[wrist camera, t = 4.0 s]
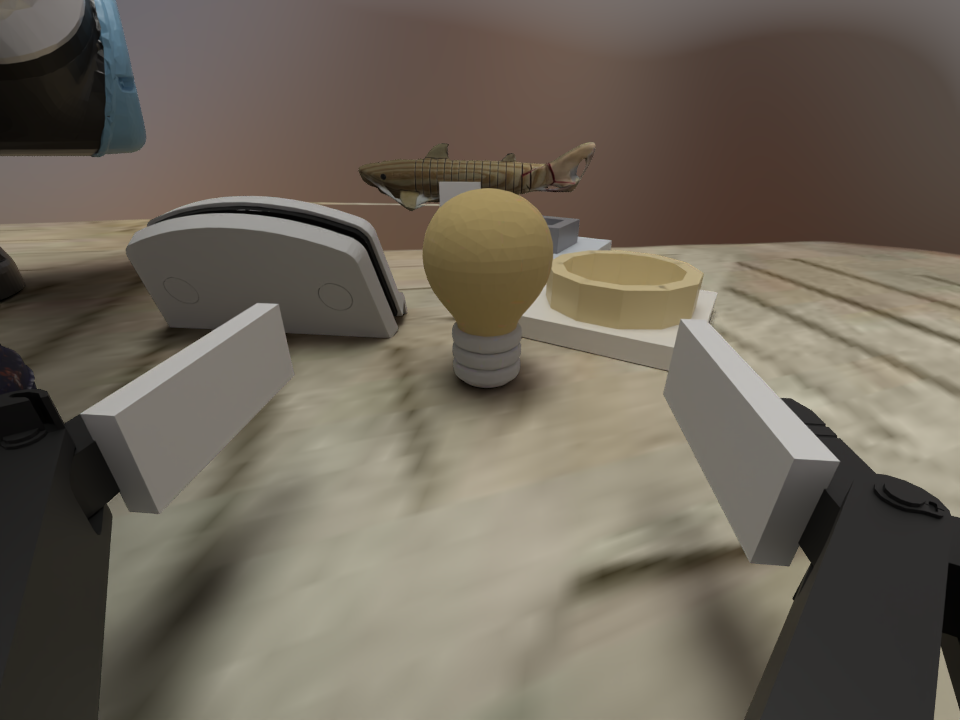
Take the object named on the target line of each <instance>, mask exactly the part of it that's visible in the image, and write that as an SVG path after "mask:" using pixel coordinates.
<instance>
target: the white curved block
mask: <svg viewBox="0 0 960 720" xmlns="http://www.w3.org/2000/svg"><path fill="white" fill-rule="evenodd" d="M126 254H127V257H128V258H129V260H130V262H131V263H132V265H133V267H134V268H135V270H136V272H137V273H138V275H139V277H140V278H141V280H142V282H143V283H144V285H145V287H146V288H147V290H148V292H149V293H150V295H151V297H152V299H153V300H154V302H155V304H156V305H157V307H158V309H159V310H160V312H161V314H162V315H163V317H164V319H165V320H166V322H167V324H168V325H169V327H177V328H197V329H216V328H218V327H220V326H221V325H223V324H224V323H226V322H228V321H229V320H231V319H232V318H234V317H236V316H237V315H239V314H240V313H242V312H244V311H245V310H247V309H249V308H250V307H252V306H253V305H255V304H257V303H268V304H279V308H280V312H281V317H282V321H283V326H284V330H285V333H298V334H318V335H338V336H358V337H378V338H391V337H392V336H394V334H395V333H396V331H397V330H398V326H397V324H396V321H395V319H394V317H396V316H403V314H407V307H406V302H405V297H404V294H403V292H399V291H398V289H397V287H396V284H395V281H394V279H393V276H392V273H391V271H390V268H389V265H388V263H387V260H386V258H385V255H384V252H383V250H382V247H381V244H380V242H379V239H378V237H377V234H376V231H375V229H374V228H373V226H372V225H371V224H370V223H369V222H367V221H366V220H364V219H362V218H360V217H357V216H354V215H351V214H348V213H345V212H342V211H339V210H335V209H332V208H328V207H325V206H321V205H317V204H313V203H308V202H302V201H297V200H291V199H284V198H275V197H263V196H235V197H222V198H215V199H208V200H203V201H199V202H194V203H191V204H188V205H185V206H182V207H179V208H176V209H174V210H172V211H169V212H167V213H165V214H163V215H160V216H158V217H156V218H154V219H152V220H150V221H149V222H148V224H147V227H146V228H144V229H142V230H139V231H137V232H136V233H135V234H134V236H133V237H132V239H131V241H130V242H129V244H128V246H127V247H126Z"/></svg>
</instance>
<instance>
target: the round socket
mask: <svg viewBox="0 0 960 720" xmlns="http://www.w3.org/2000/svg"><path fill="white" fill-rule="evenodd" d="M703 275H704V273H703V272H701V271H699V270H698V269H696V268H695V267H693V266H692V265H690V264H688V263H686V262H683V261H679V260H675V259H671V258H668V257H664V256H660V255H655V254H647V253H639V252H631V251H622V250H588V251H581V252H574V253H568V254H562V255H560V256H558V257H556V258H555V259H553V262H552V268H551V272H550V275H549V278H548V281H547V284H546V285H545V287H544V288H543V290H542V292H541V293H540V295H539V296H538V298H537V299H536V300H535V301H534V303H533V304H532V305H531V306H530V307H529V308H528V310H527V311H526V312H525V313H524V314H523V315H522V316H521V318H520V319H519V321H518V323H519V324H520V326H521V328H522V337H525V338H530V339H534V340H538V341H542V342H547V343H551V344H555V345H560V346H564V347H568V348H573V349H577V350H581V351H585V352H590V353H594V354H598V355H603V356H607V357H611V358H615V359H620V360H624V361H628V362H633V363H637V364H641V365H646V366H650V367H654V368H658V369H663V370H667V371H669V367H670V362H671V358H672V354H673V349H674V345H675V340H676V336H677V332H678V327H679V323H680V319H697V320H707V322H708V323H709V321H710V318H711V315H712V312H713V308H714V304H715V300H716V296H717V293H718V292H712V291H705V290H700V288H701V284H702V279H703Z"/></svg>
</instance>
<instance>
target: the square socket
mask: <svg viewBox="0 0 960 720" xmlns="http://www.w3.org/2000/svg"><path fill="white" fill-rule="evenodd" d="M543 218H544V219H545V221H546V223H547V225H548V227H549V230H550V233H551V238H552V242H553V259H555V258H556V257H558V256H560V255H562V254H568V253H574V252H581V251H588V250H610V249H611V242H612V241H611V240H602V239H593V238H584V237H578V230H579V219H571V218H561V217H549V216H543Z"/></svg>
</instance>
